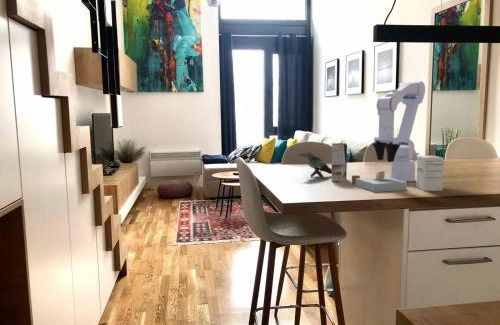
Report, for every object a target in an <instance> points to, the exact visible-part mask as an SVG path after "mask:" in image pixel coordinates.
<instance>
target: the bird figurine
mask: <svg viewBox="0 0 500 325" xmlns="http://www.w3.org/2000/svg"><path fill="white" fill-rule="evenodd" d="M297 156H302V157H303V158H304V160H305V162H306V164H307V166H308V167H310V168H312V169H314V171H313V172H311V174H310V175H309V176H310V178H313V177H314V176H315V175H317V176H318V178H319V179H320V178H321V179H322V180H323V179H324V178H325V176H324V175H323V173H322V172H324V173H328V174H329V175H332V167H329V166H328V164H327V163H325V162H324V161H323V160H322V159H321V158H320V157H319V156H316V155H315V154H313V153H312V152H310V151H309V150H304V151H303V152H301V153H299V154H297Z"/></svg>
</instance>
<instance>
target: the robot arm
mask: <svg viewBox="0 0 500 325" xmlns="http://www.w3.org/2000/svg"><path fill="white" fill-rule="evenodd" d="M425 94H426V85H425V83H424V81H422V80H421V81H412V82H403V81H402V82H400V83H399V84H398V88H397V89H396V88H395V89H394V88H393V89H391V91H390V92H388V93H387V94H386V95H385V96H381V97H379V98H378V99H377V102H376V111H377V116H378V136H375V137H373V139H374V142H373V143H372V146H373V148H374V151H375V154H376V159H377V160H378V161H383V160H384V156H385V150H386V158H387V163H390V178H393V179H397V180H401V181H405V182H417V179H416V164H415V161H414V160H412V159H413V158H414V154H415V143H414V141H413V140H411V139H410V138H411V134H412V130H413V126H414V123H415V120H416V115H417V112H418V108H419V105H420V104H422V103H423V100H424V97H425ZM401 103H402V104H403V105H405V109H404V112H403V116H402V119H401V123H400V125H399V126H400V127H399V129H398V130H399V131H398V133H397V137H394V132H395V131H394V130H395V129H394V128H395V111H397V108H398V106H399V104H401Z"/></svg>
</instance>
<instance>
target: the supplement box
mask: <svg viewBox="0 0 500 325" xmlns="http://www.w3.org/2000/svg"><path fill="white" fill-rule="evenodd" d="M444 160H445V158H444V157H442V156H437V155H417V162H416V186H415V188H418V189H419V190H421V191H425V192H438V191H439V192H442V191H443V184H444V183H443V181H444V164H445V163H444V162H445V161H444Z"/></svg>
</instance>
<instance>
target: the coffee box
mask: <svg viewBox="0 0 500 325" xmlns="http://www.w3.org/2000/svg"><path fill="white" fill-rule="evenodd" d="M347 166H348V144H347V143H346V142H337V143H334V142H333V143H331V169H332V174H331V182H336V181H339V182H341V183H346V182H347V175H348V174H347V169H348V167H347Z"/></svg>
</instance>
